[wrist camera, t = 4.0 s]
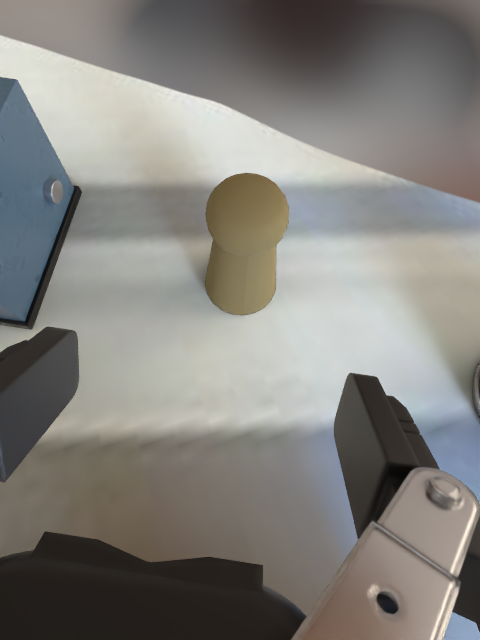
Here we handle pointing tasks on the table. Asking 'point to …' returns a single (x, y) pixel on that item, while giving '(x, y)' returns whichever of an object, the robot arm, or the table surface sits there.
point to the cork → (244, 242)
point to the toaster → (28, 208)
